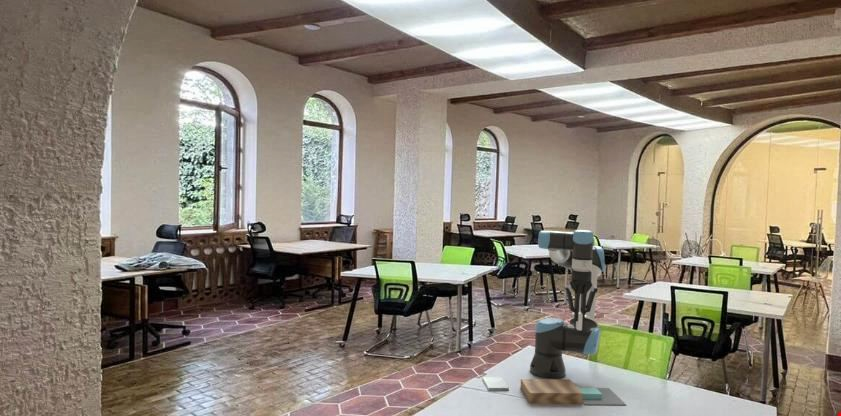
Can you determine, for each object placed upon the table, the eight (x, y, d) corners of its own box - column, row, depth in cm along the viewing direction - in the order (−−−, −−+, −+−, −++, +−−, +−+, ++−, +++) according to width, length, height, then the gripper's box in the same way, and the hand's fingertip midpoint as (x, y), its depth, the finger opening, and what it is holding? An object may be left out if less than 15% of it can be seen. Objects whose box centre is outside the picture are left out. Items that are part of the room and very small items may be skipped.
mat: (584, 405, 198) (584, 404, 198) (569, 388, 214) (569, 387, 214) (626, 405, 199) (626, 404, 199) (608, 388, 215) (608, 387, 215)
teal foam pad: (578, 398, 203) (579, 393, 203) (573, 392, 209) (573, 387, 209) (601, 399, 203) (602, 393, 203) (595, 392, 209) (596, 387, 209)
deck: (529, 403, 198) (529, 392, 198) (520, 388, 212) (520, 378, 212) (582, 403, 199) (582, 393, 199) (569, 389, 213) (569, 379, 213)
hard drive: (509, 388, 210) (501, 376, 222) (488, 388, 209) (482, 376, 221) (508, 392, 210) (501, 380, 222) (488, 392, 209) (481, 380, 221)
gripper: (567, 271, 203) (565, 331, 205) (601, 272, 203) (598, 332, 205) (562, 267, 211) (559, 326, 212) (594, 268, 211) (592, 326, 212)
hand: (578, 329), depth 209 cm, fingers closed
